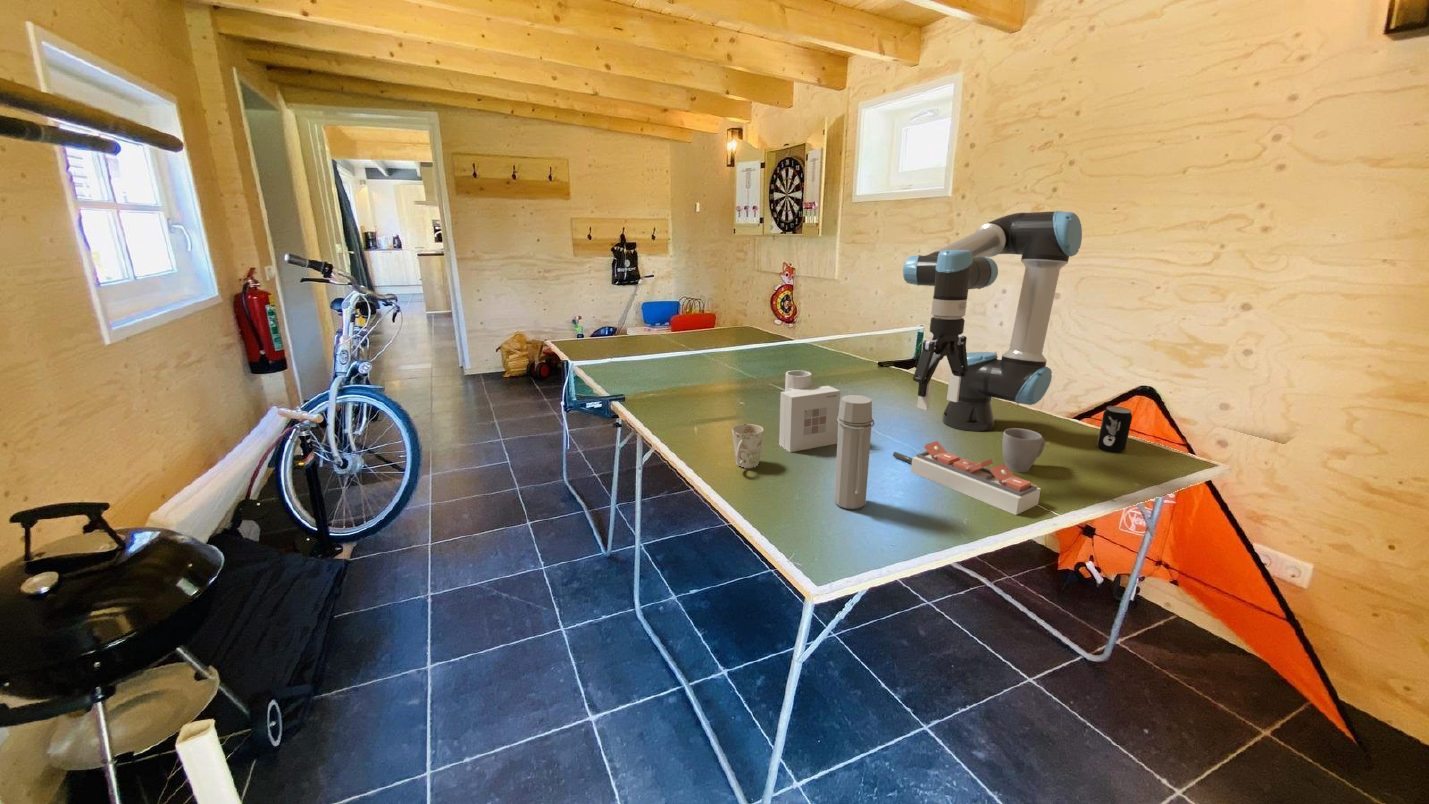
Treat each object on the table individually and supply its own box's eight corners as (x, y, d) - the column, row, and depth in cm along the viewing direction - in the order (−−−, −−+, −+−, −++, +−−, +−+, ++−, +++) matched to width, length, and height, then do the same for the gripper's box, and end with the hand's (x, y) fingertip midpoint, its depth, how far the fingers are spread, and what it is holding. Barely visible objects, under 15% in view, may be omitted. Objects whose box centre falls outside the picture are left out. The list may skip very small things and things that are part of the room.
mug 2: (1017, 477, 141) (1023, 441, 139) (990, 464, 149) (995, 430, 147) (1054, 470, 145) (1060, 435, 142) (1026, 458, 153) (1031, 425, 150)
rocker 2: (986, 474, 129) (991, 466, 128) (998, 470, 132) (1002, 462, 130) (1016, 496, 124) (1021, 488, 123) (1027, 490, 126) (1032, 483, 125)
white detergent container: (790, 452, 158) (792, 384, 152) (758, 432, 175) (759, 369, 169) (837, 443, 165) (841, 377, 159) (803, 425, 181) (805, 364, 175)
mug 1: (766, 460, 153) (767, 425, 150) (754, 478, 142) (754, 441, 139) (737, 456, 156) (737, 422, 153) (722, 474, 144) (722, 438, 141)
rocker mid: (953, 471, 137) (951, 462, 137) (964, 467, 139) (963, 458, 139) (983, 473, 130) (981, 463, 130) (994, 468, 132) (992, 459, 132)
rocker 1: (921, 450, 144) (925, 443, 142) (933, 447, 146) (936, 440, 145) (946, 469, 138) (949, 461, 137) (957, 464, 141) (961, 457, 140)
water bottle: (828, 497, 132) (833, 394, 124) (860, 495, 132) (868, 393, 125) (839, 516, 123) (846, 407, 116) (874, 514, 123) (883, 406, 116)
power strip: (883, 460, 152) (884, 444, 151) (905, 453, 157) (906, 437, 155) (1015, 515, 123) (1019, 495, 121) (1037, 504, 127) (1041, 485, 126)
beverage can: (1129, 454, 155) (1138, 413, 152) (1102, 452, 156) (1111, 412, 153) (1117, 446, 161) (1126, 406, 158) (1092, 444, 163) (1100, 405, 159)
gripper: (930, 323, 124) (920, 416, 131) (991, 314, 137) (979, 400, 143) (902, 319, 130) (894, 408, 137) (963, 311, 143) (953, 393, 149)
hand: (937, 404), depth 140 cm, fingers open, 11 cm apart
